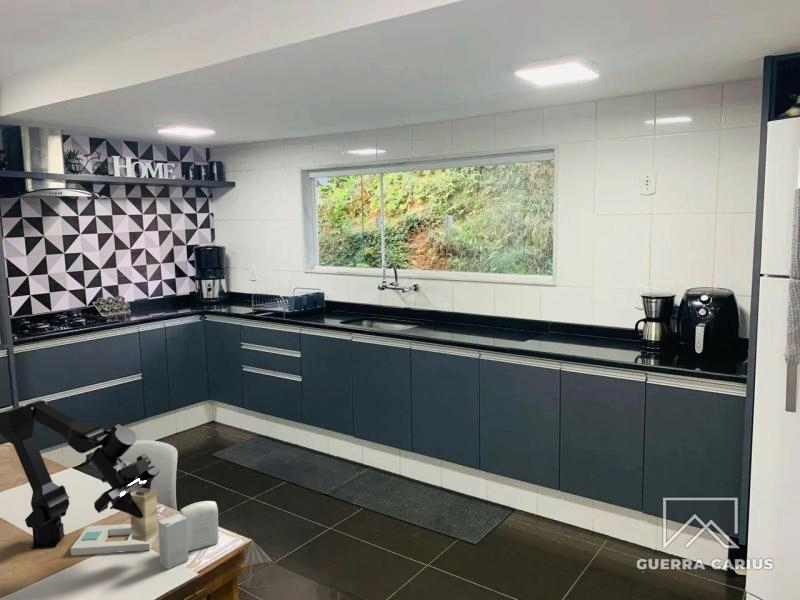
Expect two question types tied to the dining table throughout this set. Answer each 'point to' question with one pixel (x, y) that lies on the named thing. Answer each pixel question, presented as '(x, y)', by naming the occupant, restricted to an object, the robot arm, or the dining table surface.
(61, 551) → the dining table surface
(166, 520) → the skincare box
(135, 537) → the plug
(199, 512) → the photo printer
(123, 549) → the panel
